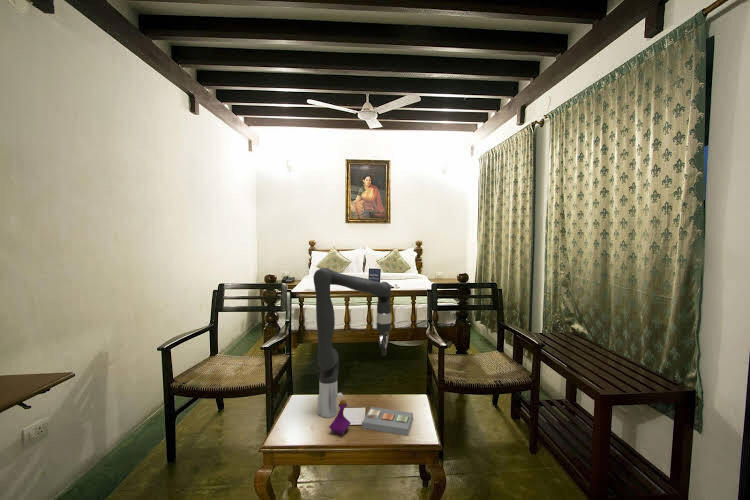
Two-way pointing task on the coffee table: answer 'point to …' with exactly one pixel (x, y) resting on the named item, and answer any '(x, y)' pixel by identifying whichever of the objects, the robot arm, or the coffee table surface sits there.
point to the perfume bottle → (340, 419)
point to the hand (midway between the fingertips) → (383, 355)
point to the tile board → (388, 422)
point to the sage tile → (402, 419)
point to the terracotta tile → (388, 417)
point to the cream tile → (374, 414)
